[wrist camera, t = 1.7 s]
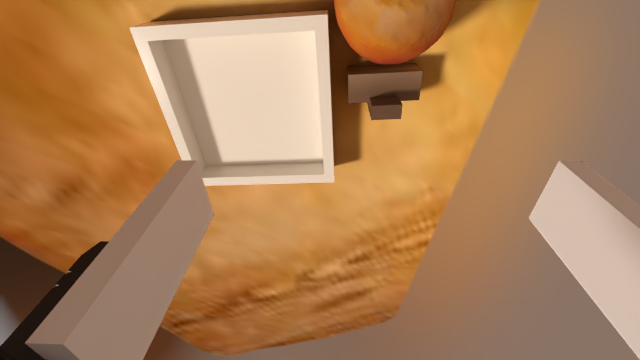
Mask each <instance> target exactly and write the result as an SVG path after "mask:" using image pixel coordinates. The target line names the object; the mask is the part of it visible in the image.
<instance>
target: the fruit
mask: <svg viewBox="0 0 640 360" xmlns="http://www.w3.org/2000/svg"><path fill="white" fill-rule="evenodd" d="M455 2H456V0H334V6H335V12H336V18H337V23H338V26H339V28H340V30H341V32H342V34H343V36H344V37H345V39H346V41H347V42H348V44H349V45H350V47H351V48H352V49H353V50H354V51H355V52H356V53H358V54H359V55H360V56H361V57H363V58H365V59H366V60H369V61H371V62H374V63H378V64H400V63H403V62H406V61H409V60H411V59H413V58H415V57H417V56H418V55H420V54H421V53H423V52H425V51H426V50H427V49H428V48H430V47H431V46H432V45H433V44H434V43H435V42H436V41H438V39H439V38H440V37H441V36H442V35H443V33H444V31H445V29H446V27H447V25H448V23H449V21H450V20H451V18H452V15H453V9H454V5H455Z"/></svg>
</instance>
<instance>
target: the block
mask: <svg viewBox="0 0 640 360" xmlns="http://www.w3.org/2000/svg"><path fill="white" fill-rule="evenodd" d="M422 75H423V71H422V69H421V68H420V67H419V66H418V65H417V64H416V63H408V64H390V65H371V66H352V67H347V94H348V102H349V103H363V102H367V105H368V108H369V112H370V116H371V120H383V119H401V113H402V103H401V101H407V100H419V96H420V89H421V82H422Z"/></svg>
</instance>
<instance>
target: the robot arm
mask: <svg viewBox="0 0 640 360" xmlns="http://www.w3.org/2000/svg"><path fill="white" fill-rule="evenodd" d="M213 216H214V213H213V210H212V207H211V204H210V201H209V198H208V194H207V191H206V188H205V185H204V182H203V179H202V175H201V172H200V169H199V166H198V163H197V160H177V161H176V162H175V163H174V164H173V166H172V167H171V168H170V169H169V170H168V172H167V173H166V174H165V175H164V176H163V178H162V179H161V180H160V181H159V182H158V184H157V185H156V186H155V187H154V188H153V190H152V191H151V192H150V193H149V194H148V196H147V197H146V198H145V199H144V200H143V202H142V203H141V204H140V205H139V206H138V208H137V209H136V210H135V211H134V212H133V214H132V215H131V216H130V217H129V218H128V220H127V221H126V222H125V223H124V224H123V226H122V227H121V228H120V229H119V231H118V232H117V233H116V234H115V235H114V237H113V238H112V239H111V240H110V241H109V242H99V243H98V244H96V245H95V246H94V247H92V248H91V249H89V250H88V251H87V252H85V253H84V254H83V255H81V257H80V258H79V259H78V260H77V261H76V262H75V263H74V264H73V266H72V267H71V268H70V269H69V270H68V273H67V274H65V275H64V276H63V277H62V278H61V279H60V280H59V281H58V282H57V283H56V287H55V288H52V289H51V290H50V291H49V293H48V294H47V295H46V296H45V297H44V298H43V299H42V300H41V301H40V303H39V304H38V305H37V306H36V307H35V308H34V310H33V311H32V312H31V313H30V314H29V315H28V316H27V317H26V318H25V320H24V321H23V322H22V323H21V324H20V325H19V326H18V327H17V328H16V330H15V331H14V332H13V333H12V334H11V335H10V336H9V338H8V339H7V340H6V341H5V342H4V343H3V344H2V345H1V346H0V360H143V358H144V356H145V354H146V352H147V350H148V348H149V346H150V344H151V342H152V339H153V338H154V336H155V334H156V331H157V329H158V327H159V325H160V323H161V321H162V319H163V317H164V315H165V313H166V311H167V309H168V307H169V305H170V303H171V301H172V299H173V297H174V295H175V293H176V291H177V289H178V287H179V285H180V283H181V281H182V279H183V277H184V275H185V273H186V271H187V269H188V267H189V265H190V263H191V261H192V259H193V257H194V255H195V252H196V250H197V248H198V246H199V244H200V242H201V240H202V238H203V236H204V234H205V232H206V230H207V228H208V226H209V224H210V222H211V220H212V218H213ZM529 219H530V221H531V222H532V223H533V224H534V226H535V227H536V228H537V230H538V231H539V232H540V233H541V234H542V236H543V237H544V238H545V240H546V241H547V242H548V244H549V245H550V246H551V247H552V249H553V250H554V251H555V252H556V254H557V255H558V256H559V258H560V259H561V260H562V261H563V263H564V264H565V265H566V266H567V268H568V269H569V270H570V272H571V273H572V274H573V275H574V277H575V278H576V279H577V280H578V282H579V283H580V284H581V285H582V287H583V288H584V289H585V291H587V293H588V294H589V296H590V297H591V298H592V299H593V301H594V302H595V303H596V305H597V306H598V307H599V308H600V310H601V311H602V312H603V313H604V315H605V316H606V317H607V319H608V320H609V321H610V322H611V323H612V325H613V326H614V327H615V329H616V330H617V331H618V332H619V334H620V335H621V336H622V338H623V339H624V340H625V341H626V343H627V344H628V345H629V347H630V348H631V349H632V350H633V351H634V353H635V354H636V355H637V357H638V358H639V359H640V205H638V204H637V203H636V202H634V201H633V200H632V199H630V198H629V197H628V196H627V195H625V194H624V193H623V192H621V191H620V190H619V189H617V188H616V187H615V186H614V185H612V184H611V183H610V182H608V181H607V180H606V179H604V178H603V177H602V176H601V175H599V174H598V173H596V172H595V171H594V170H593V169H591V168H590V167H589V166H587V165H586V164H585V163H584V162H582V161H559V162H558V164H557V166H556V168H555V170H554V172H553V173H552V175H551V177H550V179H549V181H548V183H547V185H546V187H545V188H544V190H543V192H542V194H541V196H540V198H539V200H538V202H537V204H536V205H535V207H534V209H533V211H532V213H531V215H530V216H529Z"/></svg>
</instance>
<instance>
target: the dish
mask: <svg viewBox="0 0 640 360" xmlns="http://www.w3.org/2000/svg"><path fill="white" fill-rule="evenodd" d="M129 28H130V31H131V33H132V36H133V38H134V41H135V43H136V46H137V48H138V51H139V53H140V56H141V59H142V61H143V64H144V66H145V69H146V71H147V74H148V76H149V79H150V81H151V84H152V86H153V89H154V91H155V94H156V96H157V99H158V101H159V104H160V106H161V109H162V111H163V114H164V117H165V119H166V122H167V124H168V127H169V129H170V132H171V134H172V137H173V139H174V142H175V144H176V147H177V149H178V152H179V154H180V157H181V159H182V160H197V163H198V166H199V169H200V172H201V175H202V179H203V182H204V185H205V186H214V185H250V184H287V183H323V182H334V145H333V120H332V94H331V69H330V43H329V18H328V10H317V11H302V12H287V13H272V14H258V15H243V16H228V17H213V18H198V19H183V20H168V21H153V22H147V23H143V24H140V25H136V26H132V27H129Z"/></svg>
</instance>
